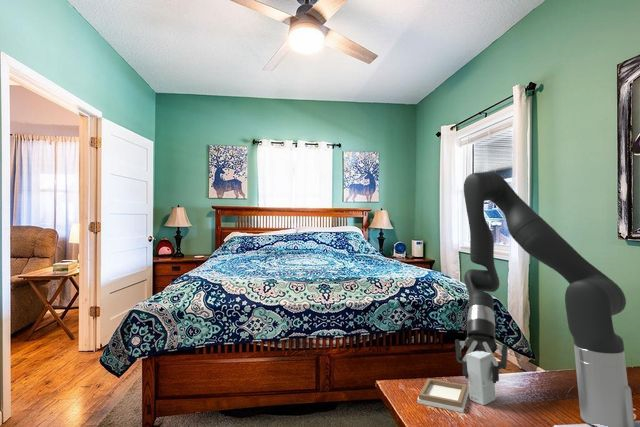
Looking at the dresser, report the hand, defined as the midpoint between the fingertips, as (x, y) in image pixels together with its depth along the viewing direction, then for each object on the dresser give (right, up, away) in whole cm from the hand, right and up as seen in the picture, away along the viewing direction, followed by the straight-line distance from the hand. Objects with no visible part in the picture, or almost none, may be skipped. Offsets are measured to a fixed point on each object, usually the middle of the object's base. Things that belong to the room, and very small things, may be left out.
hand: (480, 379), depth 90 cm
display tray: (-9, -6, +3) cm, 11 cm away
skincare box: (+1, -6, +1) cm, 6 cm away
